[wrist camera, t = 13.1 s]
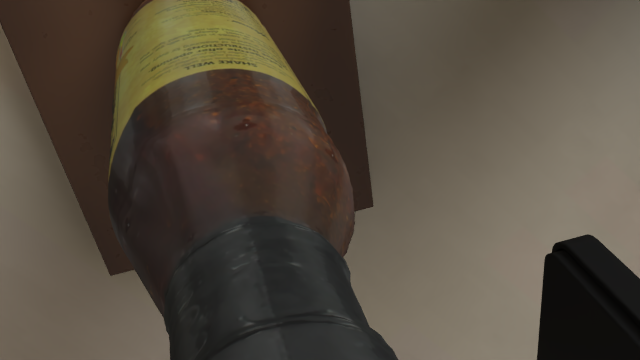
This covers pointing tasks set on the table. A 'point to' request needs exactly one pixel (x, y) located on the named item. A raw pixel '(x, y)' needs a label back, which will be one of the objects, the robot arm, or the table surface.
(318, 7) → the serving board
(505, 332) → the table surface
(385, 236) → the table surface
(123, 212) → the sauce bottle
